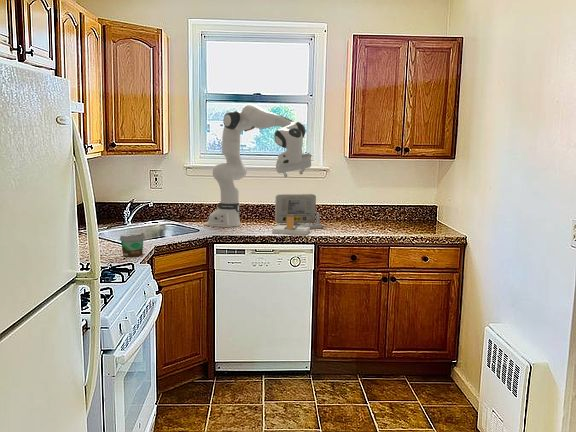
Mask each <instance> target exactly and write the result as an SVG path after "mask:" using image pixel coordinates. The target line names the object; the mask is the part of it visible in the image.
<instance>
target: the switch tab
mask: <svg viewBox="0 0 576 432" xmlns="http://www.w3.org/2000/svg"><path fill="white" fill-rule="evenodd" d="M286 224H287V225H286V226H287V229H293V228H294V214H287V223H286Z"/></svg>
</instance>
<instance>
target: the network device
mask: <svg viewBox="0 0 576 432" xmlns="http://www.w3.org/2000/svg"><path fill="white" fill-rule="evenodd" d="M316 203H317V196H316V195H315V194H313V193H277V194H276V195H275V202H274V204H275V206H274V207H275V208H274V209H275V211H274V215H275V216H274V222H275V223H277V224H279V225H284V226H287V214H294V226H296V225H298V226H299V225H300V224H312V223H316V213H317V212H316V208H317V207H316V206H317V205H316Z"/></svg>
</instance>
